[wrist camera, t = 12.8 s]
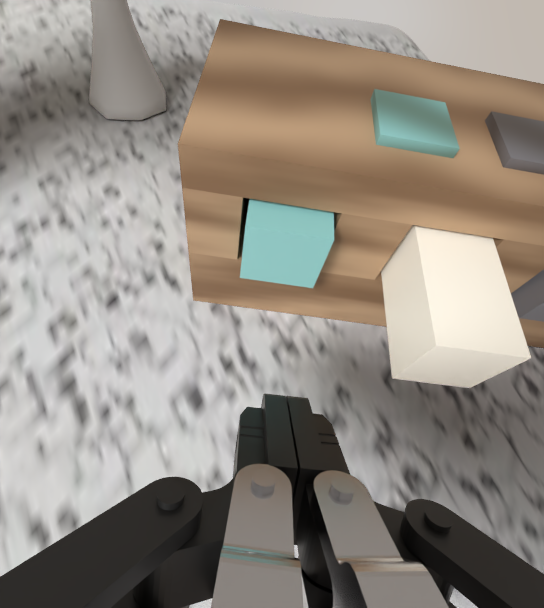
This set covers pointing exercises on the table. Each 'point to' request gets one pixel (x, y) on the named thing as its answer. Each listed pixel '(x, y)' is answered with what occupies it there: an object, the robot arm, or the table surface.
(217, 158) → the block
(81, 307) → the table surface
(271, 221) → the key teal
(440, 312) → the key ivory
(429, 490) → the table surface
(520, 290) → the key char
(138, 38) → the flask
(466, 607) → the table surface
